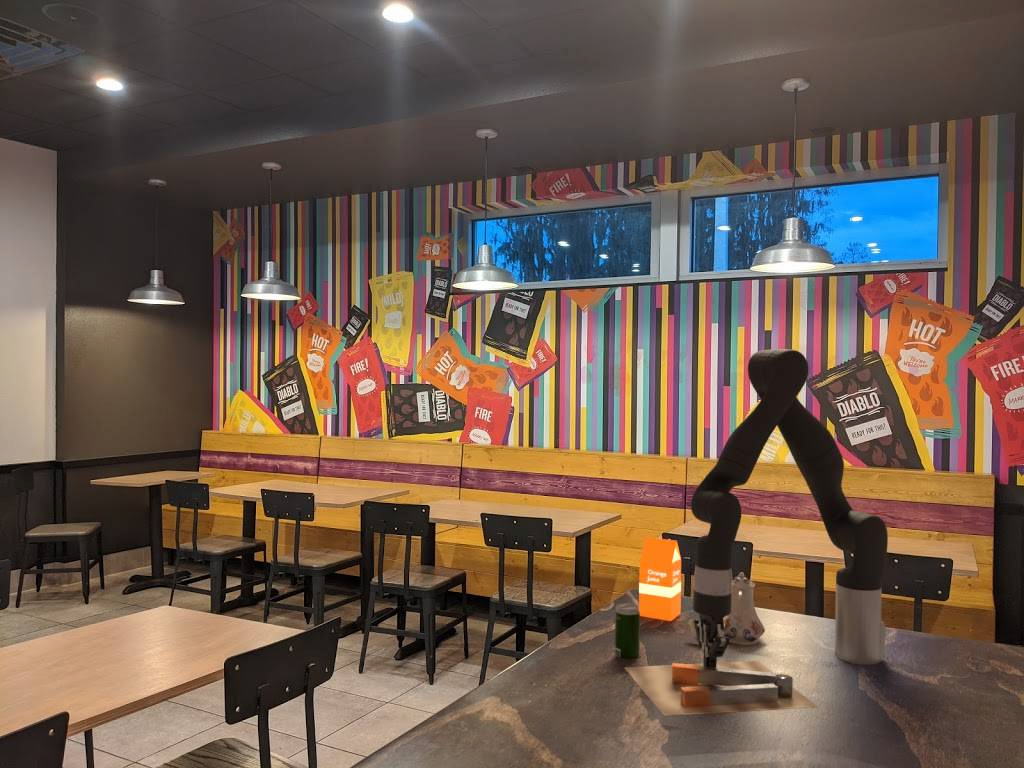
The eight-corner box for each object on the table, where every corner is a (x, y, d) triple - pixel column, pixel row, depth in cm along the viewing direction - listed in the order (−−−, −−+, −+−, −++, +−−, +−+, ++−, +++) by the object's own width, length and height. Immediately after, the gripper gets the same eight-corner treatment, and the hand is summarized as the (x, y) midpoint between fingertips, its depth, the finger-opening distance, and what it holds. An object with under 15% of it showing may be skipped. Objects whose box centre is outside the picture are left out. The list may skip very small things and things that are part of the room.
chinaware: (699, 623, 208) (693, 559, 208) (766, 624, 202) (760, 558, 203) (688, 659, 181) (681, 586, 181) (764, 661, 176) (757, 585, 176)
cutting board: (758, 667, 172) (758, 660, 172) (818, 714, 148) (818, 706, 148) (624, 674, 167) (624, 667, 167) (663, 724, 143) (664, 715, 143)
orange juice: (670, 621, 204) (672, 543, 204) (638, 615, 208) (639, 539, 208) (680, 613, 211) (681, 538, 210) (649, 608, 215) (650, 534, 215)
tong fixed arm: (772, 697, 152) (773, 682, 152) (778, 702, 150) (778, 686, 150) (680, 703, 149) (680, 687, 149) (684, 707, 147) (684, 691, 147)
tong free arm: (790, 689, 155) (791, 673, 155) (793, 698, 151) (793, 681, 151) (672, 678, 160) (672, 662, 160) (671, 686, 156) (672, 670, 156)
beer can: (626, 667, 171) (626, 611, 171) (609, 659, 176) (610, 605, 176) (644, 662, 174) (645, 607, 174) (628, 655, 179) (628, 601, 178)
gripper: (744, 597, 154) (741, 686, 154) (717, 579, 167) (714, 661, 167) (707, 598, 153) (704, 687, 153) (683, 580, 166) (680, 662, 166)
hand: (709, 674), depth 160 cm, fingers closed
